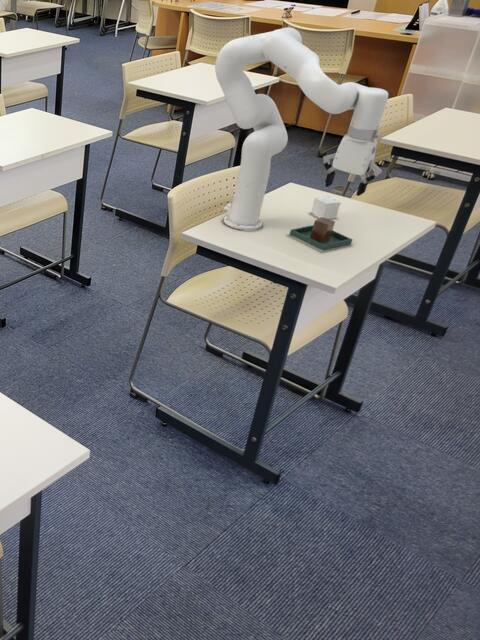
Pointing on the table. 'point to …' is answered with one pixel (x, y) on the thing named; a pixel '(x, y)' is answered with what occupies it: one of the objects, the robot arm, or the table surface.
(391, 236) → the table surface
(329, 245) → the tray
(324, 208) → the white cube
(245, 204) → the robot arm
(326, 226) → the block
